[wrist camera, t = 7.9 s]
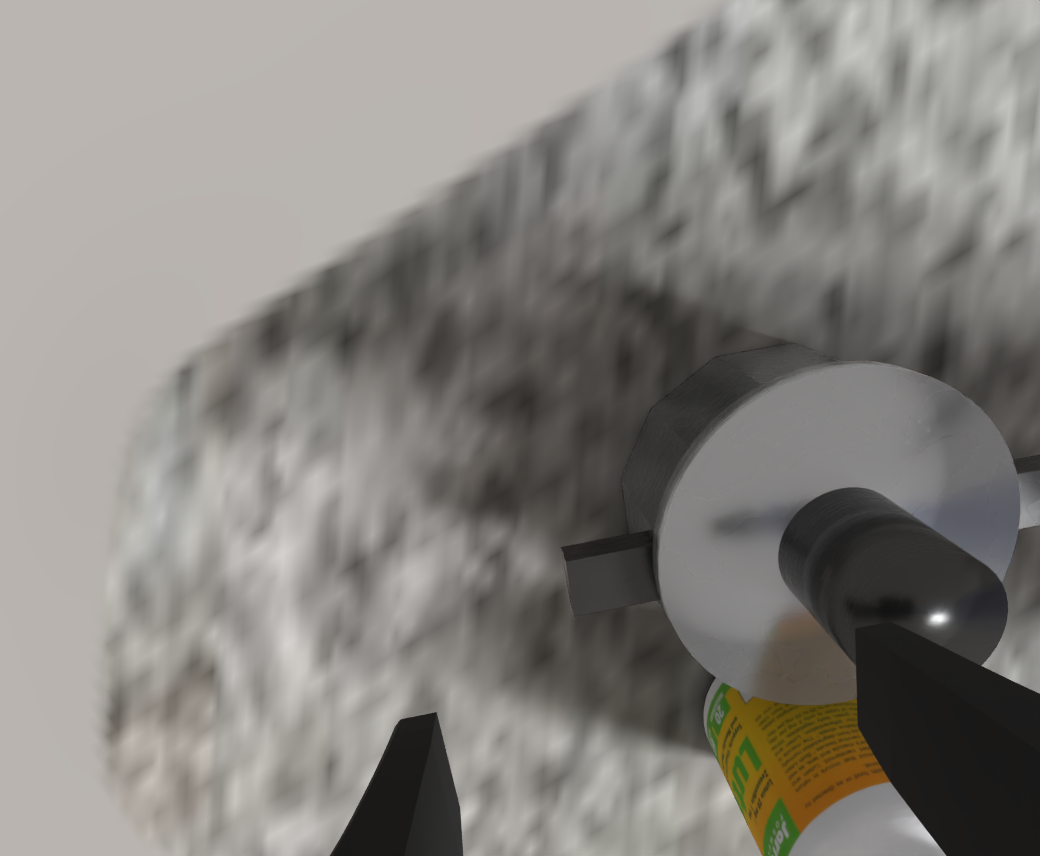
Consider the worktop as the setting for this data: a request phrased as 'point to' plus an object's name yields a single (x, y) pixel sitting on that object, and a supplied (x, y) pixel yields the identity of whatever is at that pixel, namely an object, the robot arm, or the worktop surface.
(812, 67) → the worktop surface
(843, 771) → the supplement bottle
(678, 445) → the pot
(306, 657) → the worktop surface
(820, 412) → the lid
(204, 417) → the worktop surface
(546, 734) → the worktop surface
